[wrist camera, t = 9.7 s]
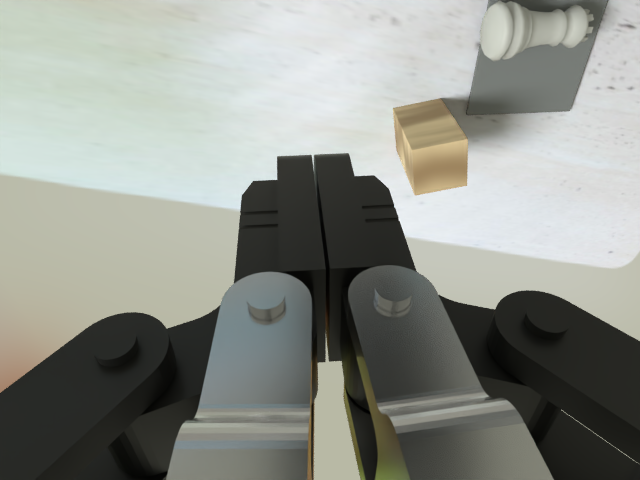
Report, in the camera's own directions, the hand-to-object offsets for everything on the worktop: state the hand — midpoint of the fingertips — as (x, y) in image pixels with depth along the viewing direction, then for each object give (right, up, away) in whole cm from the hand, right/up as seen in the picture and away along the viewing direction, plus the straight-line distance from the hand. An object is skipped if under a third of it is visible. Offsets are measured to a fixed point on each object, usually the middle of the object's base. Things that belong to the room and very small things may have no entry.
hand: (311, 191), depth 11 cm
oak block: (+10, +10, +36) cm, 38 cm away
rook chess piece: (+14, +16, +28) cm, 35 cm away
